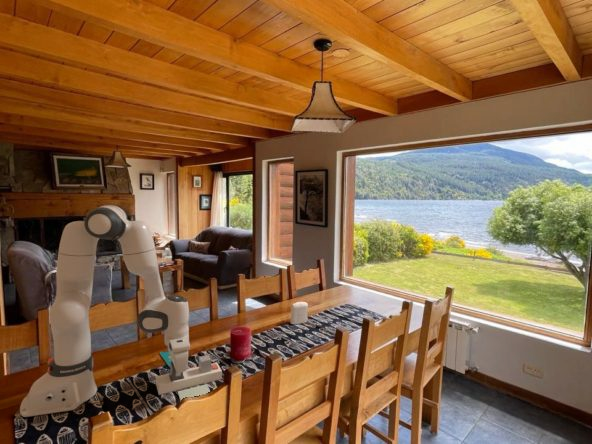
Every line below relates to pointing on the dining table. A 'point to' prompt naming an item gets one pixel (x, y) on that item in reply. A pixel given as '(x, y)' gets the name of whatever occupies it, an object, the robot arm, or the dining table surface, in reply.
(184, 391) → the mat
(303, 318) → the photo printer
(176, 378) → the block
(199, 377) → the power strip
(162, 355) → the teal passport
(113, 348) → the dining table surface
